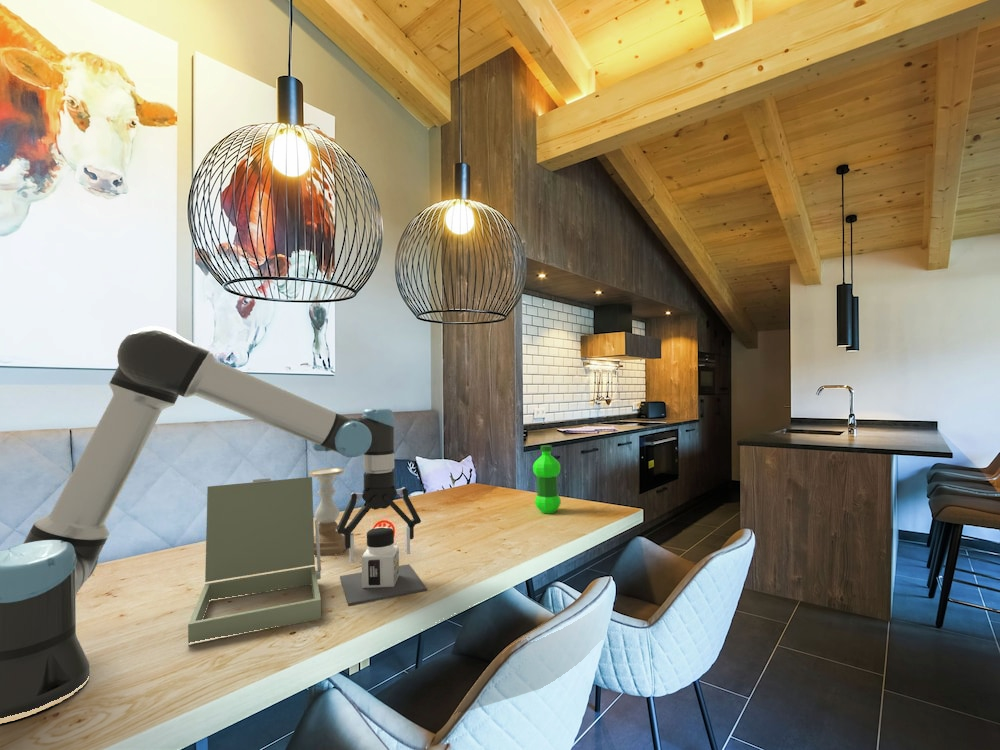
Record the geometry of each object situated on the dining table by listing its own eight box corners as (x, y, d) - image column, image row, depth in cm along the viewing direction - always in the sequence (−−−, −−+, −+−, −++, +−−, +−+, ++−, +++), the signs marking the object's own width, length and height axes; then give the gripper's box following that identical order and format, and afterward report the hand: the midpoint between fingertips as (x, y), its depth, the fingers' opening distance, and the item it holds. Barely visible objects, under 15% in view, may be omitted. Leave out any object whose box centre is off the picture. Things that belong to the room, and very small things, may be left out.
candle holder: (350, 543, 156) (349, 467, 156) (340, 554, 145) (339, 473, 145) (315, 544, 155) (314, 468, 156) (302, 556, 144) (301, 474, 145)
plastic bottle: (541, 516, 181) (539, 448, 182) (530, 510, 191) (528, 445, 192) (566, 513, 184) (564, 446, 185) (554, 507, 194) (552, 443, 195)
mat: (426, 590, 117) (426, 588, 117) (348, 605, 110) (348, 603, 110) (409, 566, 134) (409, 564, 134) (340, 577, 127) (339, 576, 127)
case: (327, 617, 105) (325, 546, 105) (188, 645, 95) (187, 566, 95) (319, 576, 128) (318, 518, 128) (207, 595, 118) (206, 532, 118)
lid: (312, 474, 130) (311, 475, 132) (207, 483, 121) (208, 484, 122) (314, 564, 124) (314, 564, 126) (204, 582, 115) (205, 581, 116)
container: (394, 587, 118) (393, 533, 119) (361, 588, 118) (360, 534, 118) (399, 575, 126) (398, 524, 126) (369, 576, 126) (368, 525, 126)
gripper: (424, 464, 131) (425, 545, 131) (325, 472, 121) (325, 559, 121) (431, 468, 124) (433, 553, 124) (327, 477, 114) (328, 569, 114)
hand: (380, 556), depth 122 cm, fingers open, 13 cm apart
